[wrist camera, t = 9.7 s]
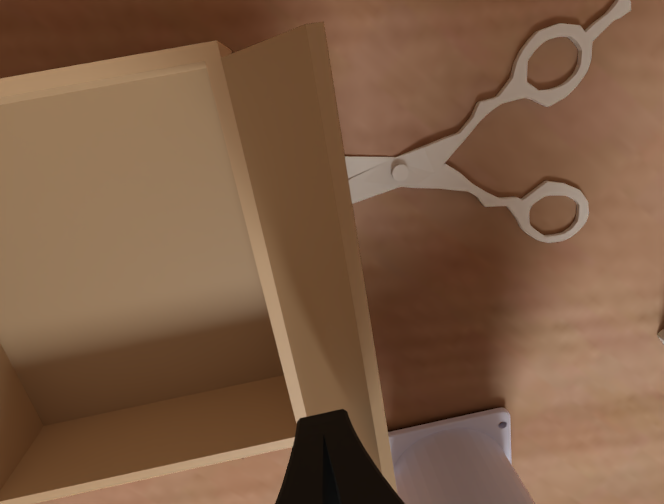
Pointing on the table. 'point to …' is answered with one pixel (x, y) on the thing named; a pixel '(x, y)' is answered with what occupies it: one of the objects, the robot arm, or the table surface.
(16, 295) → the carton
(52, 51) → the table surface
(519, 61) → the scissors
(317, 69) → the flap
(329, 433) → the robot arm
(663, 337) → the small box
